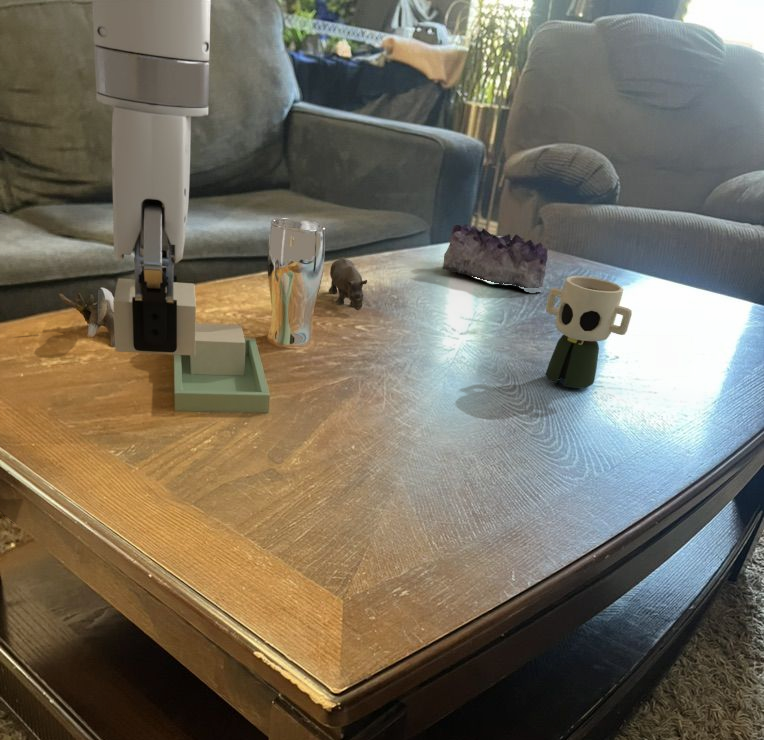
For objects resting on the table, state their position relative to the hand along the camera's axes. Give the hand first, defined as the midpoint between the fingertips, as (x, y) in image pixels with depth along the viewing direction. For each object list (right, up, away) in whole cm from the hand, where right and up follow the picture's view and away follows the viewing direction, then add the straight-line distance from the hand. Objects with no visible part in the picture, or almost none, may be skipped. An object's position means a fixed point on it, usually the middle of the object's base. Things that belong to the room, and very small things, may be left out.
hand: (156, 333), depth 63 cm
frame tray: (0, 0, +25) cm, 25 cm away
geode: (+38, +28, +81) cm, 94 cm away
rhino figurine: (+13, +17, +56) cm, 60 cm away
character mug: (+43, +2, +39) cm, 58 cm away
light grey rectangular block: (0, -1, 0) cm, 1 cm away
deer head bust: (-16, +6, +32) cm, 36 cm away
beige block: (-1, +3, +28) cm, 28 cm away
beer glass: (+6, +7, +39) cm, 40 cm away
